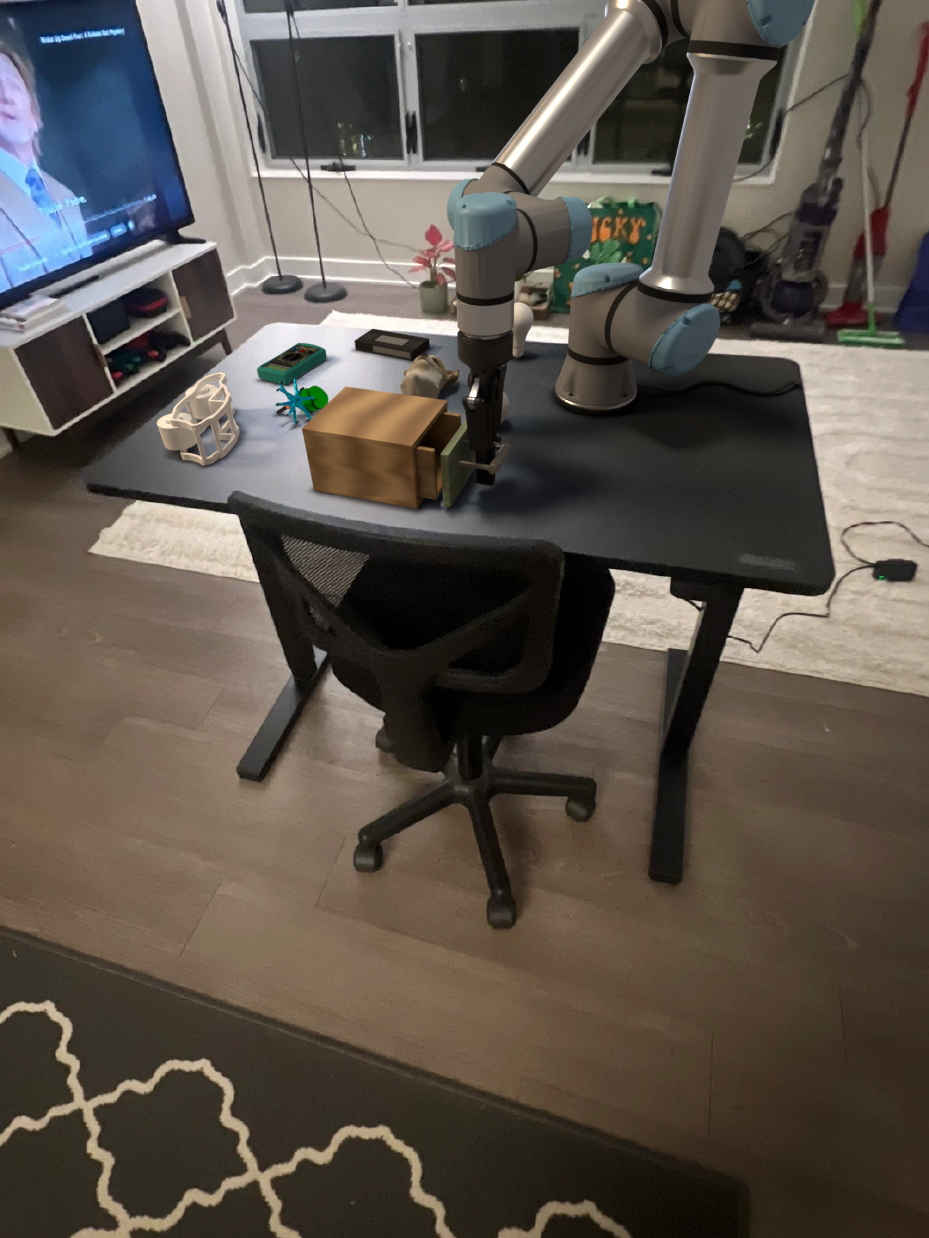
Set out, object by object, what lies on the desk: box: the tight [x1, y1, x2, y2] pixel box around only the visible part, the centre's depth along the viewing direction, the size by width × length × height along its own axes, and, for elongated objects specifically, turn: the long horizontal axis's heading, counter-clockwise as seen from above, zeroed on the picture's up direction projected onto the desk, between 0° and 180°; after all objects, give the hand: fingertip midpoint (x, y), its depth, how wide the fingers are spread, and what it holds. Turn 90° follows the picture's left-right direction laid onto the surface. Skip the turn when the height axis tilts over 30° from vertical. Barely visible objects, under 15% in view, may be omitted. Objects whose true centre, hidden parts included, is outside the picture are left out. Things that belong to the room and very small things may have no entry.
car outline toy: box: [156, 372, 241, 467], centre depth 125 cm, size 20×11×7 cm, turn 171°
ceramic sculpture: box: [399, 351, 460, 399], centre depth 134 cm, size 11×9×15 cm
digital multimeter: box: [256, 342, 328, 386], centre depth 146 cm, size 7×15×3 cm, turn 153°
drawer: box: [414, 411, 512, 508], centre depth 110 cm, size 23×14×9 cm, turn 71°
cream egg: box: [501, 390, 510, 424], centre depth 124 cm, size 10×7×7 cm
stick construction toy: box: [274, 378, 329, 425], centre depth 132 cm, size 12×7×8 cm
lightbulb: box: [511, 301, 534, 359], centre depth 145 cm, size 6×6×11 cm
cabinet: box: [301, 385, 449, 510], centre depth 112 cm, size 18×15×11 cm
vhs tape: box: [354, 328, 431, 361], centre depth 153 cm, size 8×14×2 cm, turn 63°
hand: (485, 482), depth 110 cm, fingers closed
